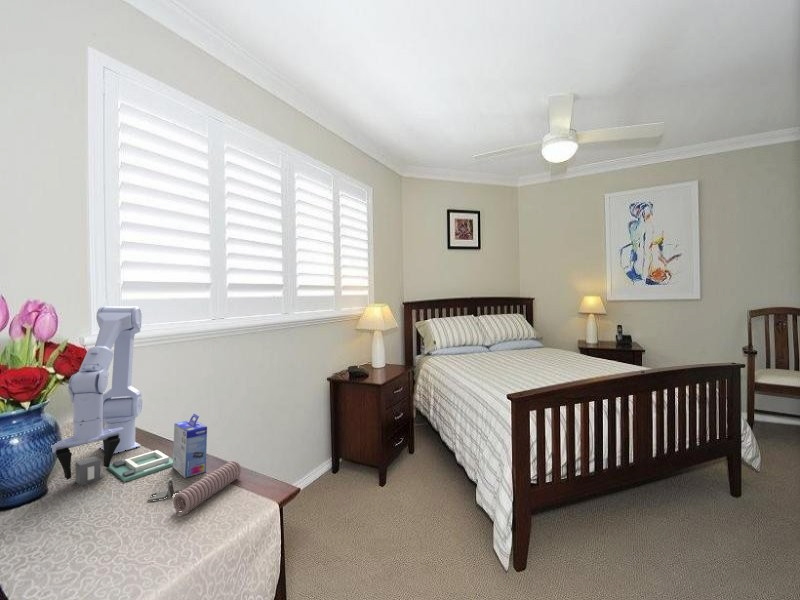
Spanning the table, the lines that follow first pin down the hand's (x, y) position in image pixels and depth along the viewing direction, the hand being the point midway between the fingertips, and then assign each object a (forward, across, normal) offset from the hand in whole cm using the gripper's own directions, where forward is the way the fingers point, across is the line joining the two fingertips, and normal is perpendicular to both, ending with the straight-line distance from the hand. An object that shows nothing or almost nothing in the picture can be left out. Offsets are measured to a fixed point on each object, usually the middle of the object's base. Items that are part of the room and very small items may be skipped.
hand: (87, 471), depth 92 cm
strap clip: (+3, +9, -25) cm, 27 cm away
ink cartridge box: (+2, +18, -15) cm, 23 cm away
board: (+2, +11, -2) cm, 11 cm away
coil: (+3, +15, -32) cm, 35 cm away
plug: (+2, 0, 0) cm, 2 cm away
